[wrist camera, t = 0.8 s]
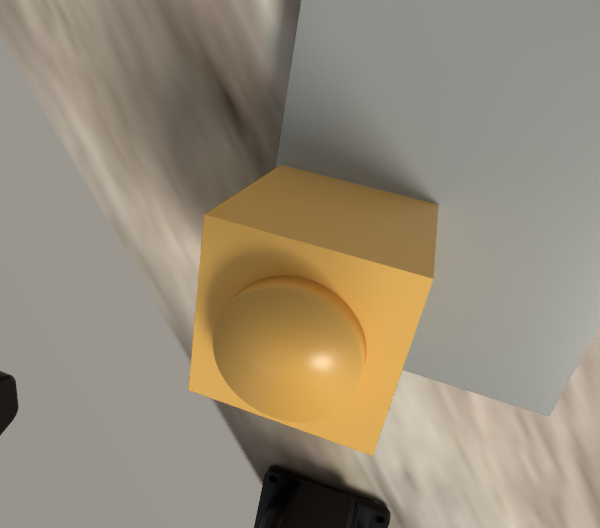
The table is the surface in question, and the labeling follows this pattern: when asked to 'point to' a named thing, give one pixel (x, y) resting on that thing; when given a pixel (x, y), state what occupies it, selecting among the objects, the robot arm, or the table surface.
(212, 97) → the table surface
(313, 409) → the domed push button
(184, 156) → the table surface
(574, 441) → the table surface
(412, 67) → the plate
